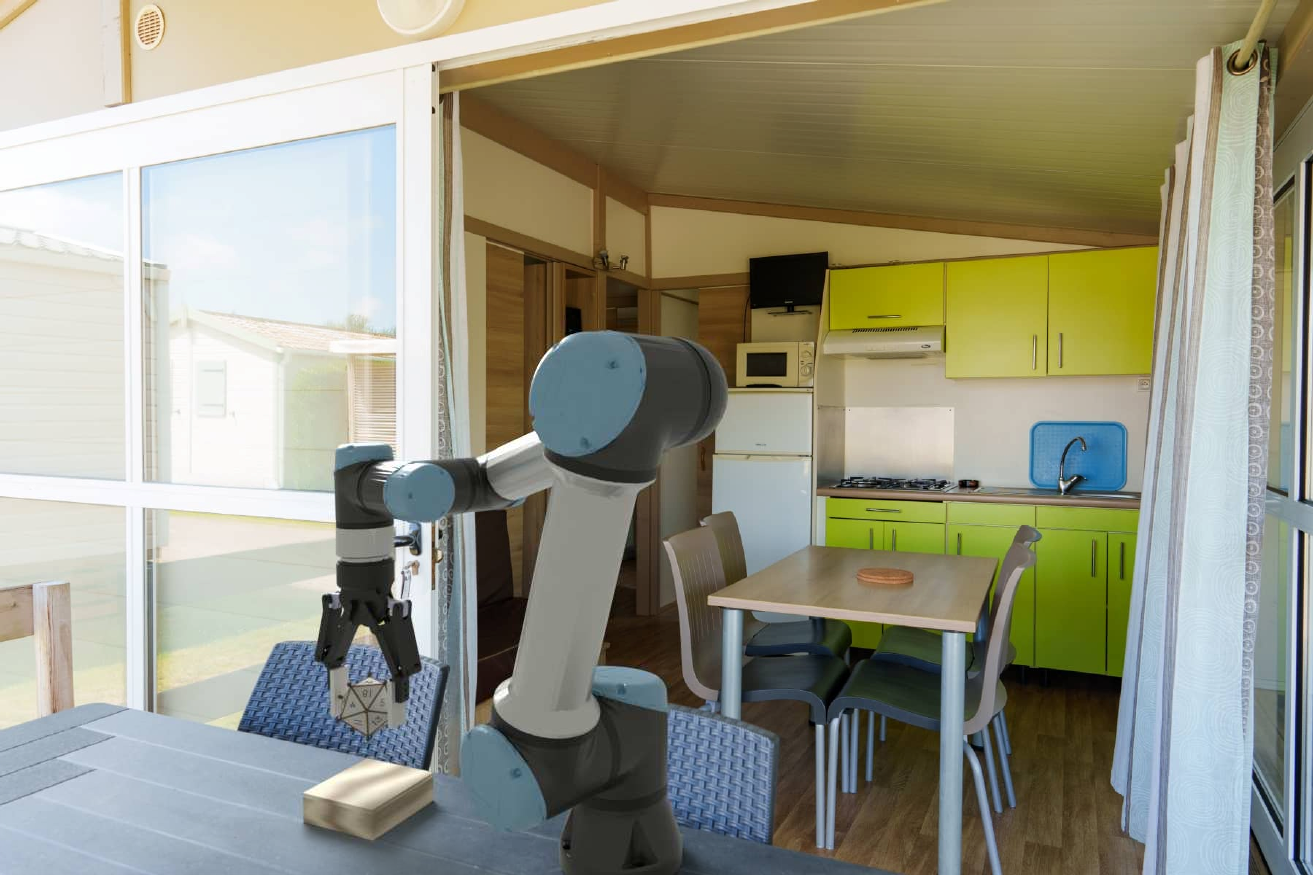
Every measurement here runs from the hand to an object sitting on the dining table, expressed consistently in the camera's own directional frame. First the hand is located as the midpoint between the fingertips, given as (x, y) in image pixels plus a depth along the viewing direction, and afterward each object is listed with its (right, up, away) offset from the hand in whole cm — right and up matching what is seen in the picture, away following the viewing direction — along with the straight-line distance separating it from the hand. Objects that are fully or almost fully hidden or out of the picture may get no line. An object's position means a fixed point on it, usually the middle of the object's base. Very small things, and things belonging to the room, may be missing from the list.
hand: (368, 719), depth 116 cm
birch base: (0, -13, 0) cm, 13 cm away
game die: (0, -2, 0) cm, 2 cm away
